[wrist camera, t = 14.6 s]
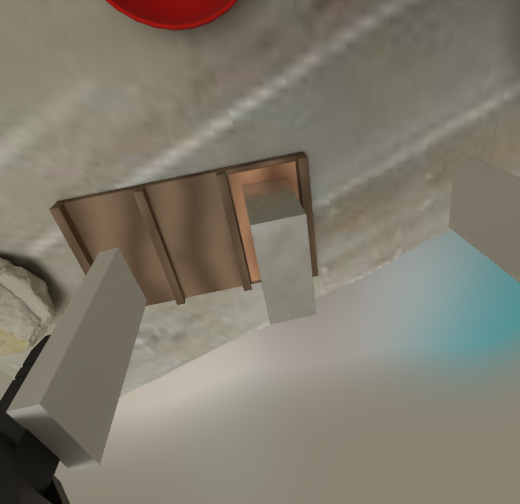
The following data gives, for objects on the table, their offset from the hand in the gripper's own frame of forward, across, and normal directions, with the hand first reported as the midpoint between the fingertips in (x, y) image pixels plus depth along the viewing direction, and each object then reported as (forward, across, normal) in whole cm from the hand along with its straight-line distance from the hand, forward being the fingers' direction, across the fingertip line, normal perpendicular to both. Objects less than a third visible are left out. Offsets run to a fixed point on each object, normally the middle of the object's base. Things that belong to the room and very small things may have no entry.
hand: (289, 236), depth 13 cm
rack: (+26, +9, +12) cm, 30 cm away
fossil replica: (+25, +33, +12) cm, 43 cm away
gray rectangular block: (+25, 0, +13) cm, 28 cm away
